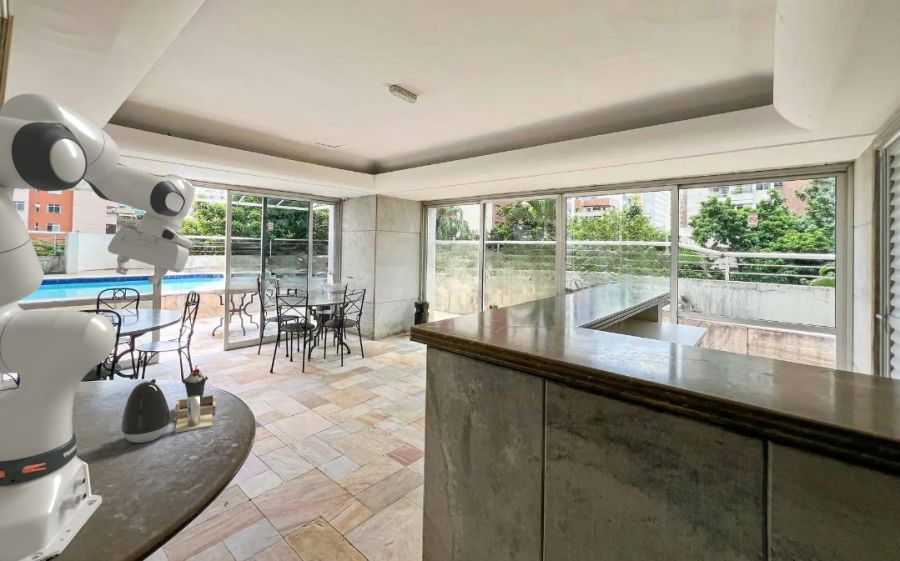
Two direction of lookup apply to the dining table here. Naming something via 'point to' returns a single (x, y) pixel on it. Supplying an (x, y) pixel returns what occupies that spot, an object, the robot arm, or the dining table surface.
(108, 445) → the dining table surface
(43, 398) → the robot arm
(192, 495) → the dining table surface
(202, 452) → the dining table surface
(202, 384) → the sundae
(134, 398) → the pump dispenser
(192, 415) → the wooden frame tray
